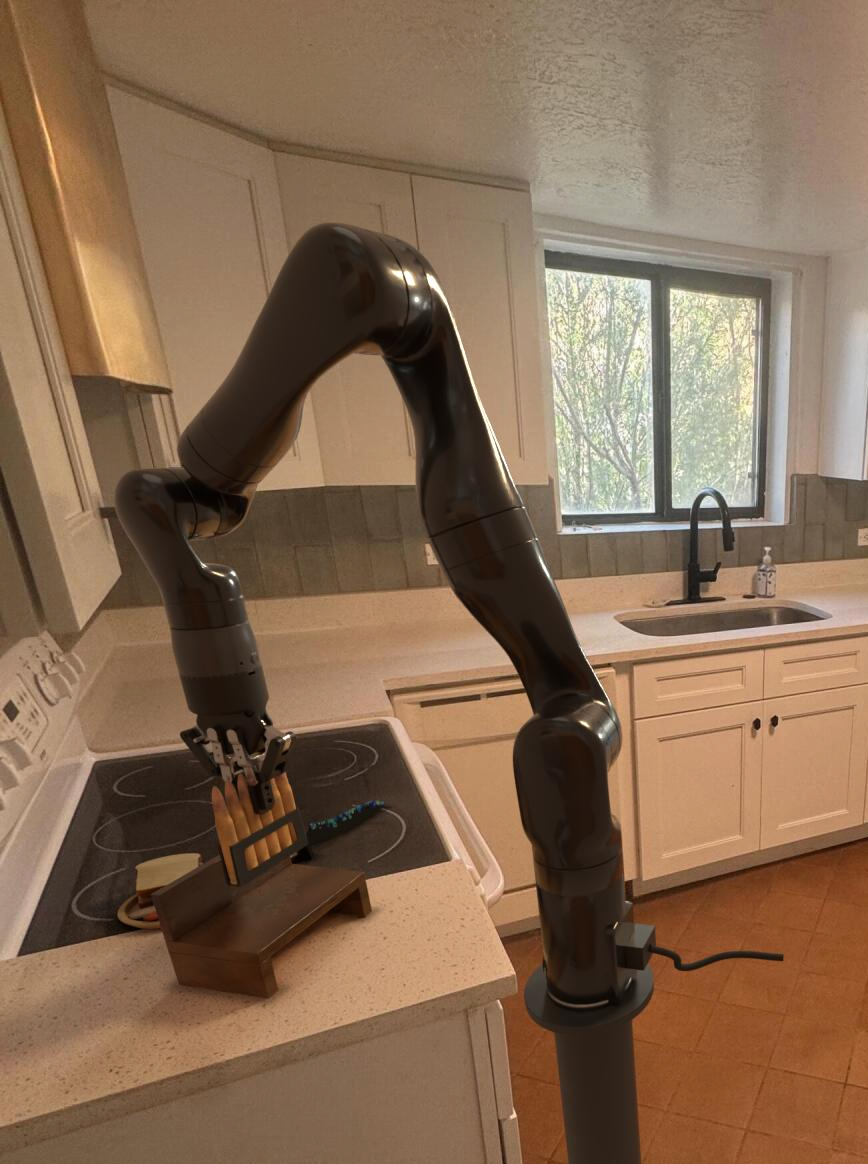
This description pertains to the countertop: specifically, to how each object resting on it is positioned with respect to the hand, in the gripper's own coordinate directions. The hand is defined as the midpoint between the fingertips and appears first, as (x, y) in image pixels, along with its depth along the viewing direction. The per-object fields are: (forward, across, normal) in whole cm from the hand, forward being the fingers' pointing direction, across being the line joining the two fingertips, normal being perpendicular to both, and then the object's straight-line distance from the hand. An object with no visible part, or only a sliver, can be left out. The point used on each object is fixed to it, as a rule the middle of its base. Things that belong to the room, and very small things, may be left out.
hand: (256, 810), depth 90 cm
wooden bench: (+19, -1, 0) cm, 19 cm away
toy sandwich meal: (+19, -22, +5) cm, 29 cm away
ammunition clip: (+7, 0, 0) cm, 7 cm away
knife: (+19, -14, +23) cm, 33 cm away
